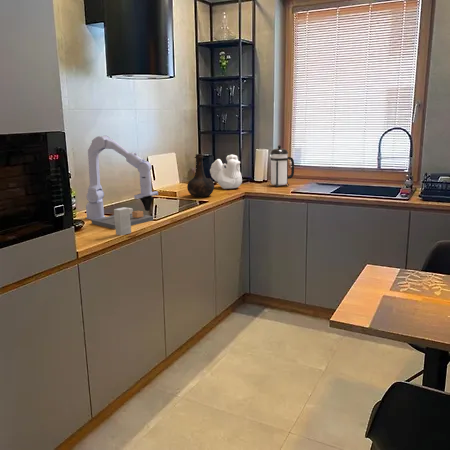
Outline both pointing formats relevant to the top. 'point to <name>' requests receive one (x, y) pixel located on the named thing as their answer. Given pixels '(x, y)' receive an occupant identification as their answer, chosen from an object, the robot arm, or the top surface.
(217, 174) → the decorative rooster
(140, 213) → the block
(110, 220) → the dark grey slab
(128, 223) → the skincare box
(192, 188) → the dark brown vase
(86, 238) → the top surface
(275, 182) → the coffee press
